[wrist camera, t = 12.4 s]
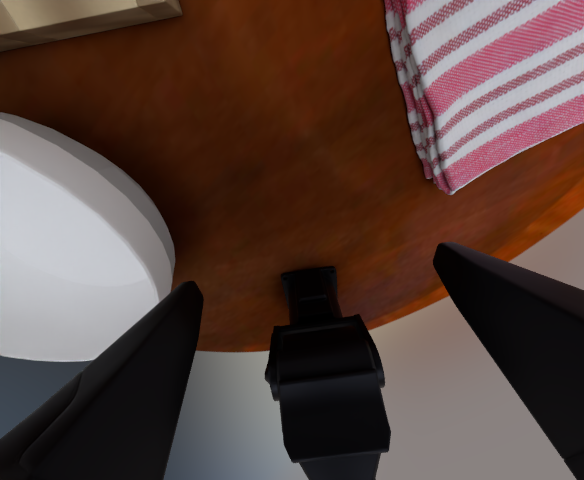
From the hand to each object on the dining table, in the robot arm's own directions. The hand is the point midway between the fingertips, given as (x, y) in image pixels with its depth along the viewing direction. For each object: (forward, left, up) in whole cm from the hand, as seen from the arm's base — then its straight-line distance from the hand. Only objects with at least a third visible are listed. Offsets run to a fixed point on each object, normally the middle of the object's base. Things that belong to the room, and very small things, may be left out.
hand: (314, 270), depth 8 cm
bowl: (-1, +19, -13) cm, 23 cm away
